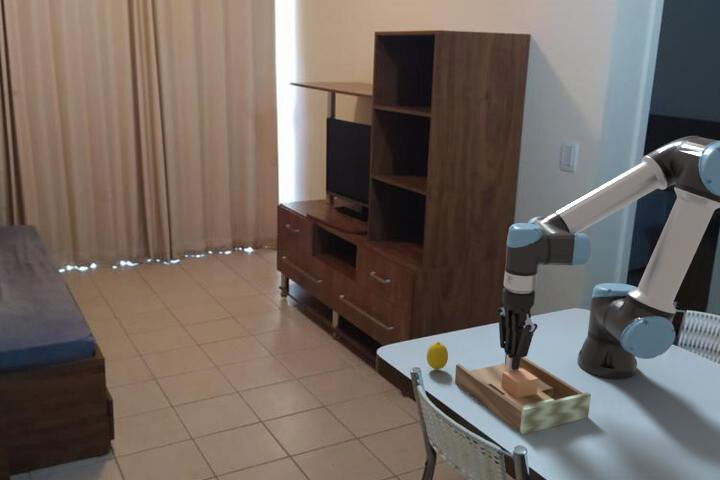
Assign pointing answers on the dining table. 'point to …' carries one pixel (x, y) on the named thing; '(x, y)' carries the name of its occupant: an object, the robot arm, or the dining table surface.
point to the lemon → (437, 356)
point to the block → (519, 383)
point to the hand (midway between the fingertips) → (510, 379)
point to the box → (525, 397)
